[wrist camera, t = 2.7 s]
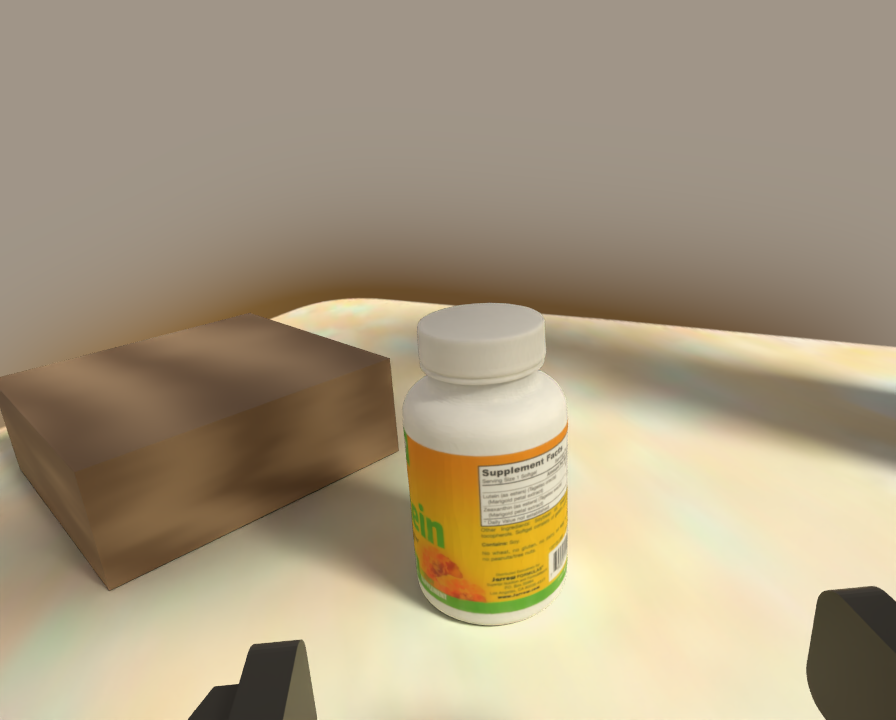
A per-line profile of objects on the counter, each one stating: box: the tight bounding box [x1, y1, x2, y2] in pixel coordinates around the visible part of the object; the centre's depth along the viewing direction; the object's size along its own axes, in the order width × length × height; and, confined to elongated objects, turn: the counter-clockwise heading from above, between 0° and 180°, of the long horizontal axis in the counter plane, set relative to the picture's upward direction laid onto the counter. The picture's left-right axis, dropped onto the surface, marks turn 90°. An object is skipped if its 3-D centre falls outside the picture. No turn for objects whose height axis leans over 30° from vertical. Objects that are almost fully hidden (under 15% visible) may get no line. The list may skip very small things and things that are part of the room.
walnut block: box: [0, 313, 399, 591], centre depth 32 cm, size 14×14×5 cm
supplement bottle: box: [403, 303, 568, 625], centre depth 22 cm, size 5×5×10 cm
